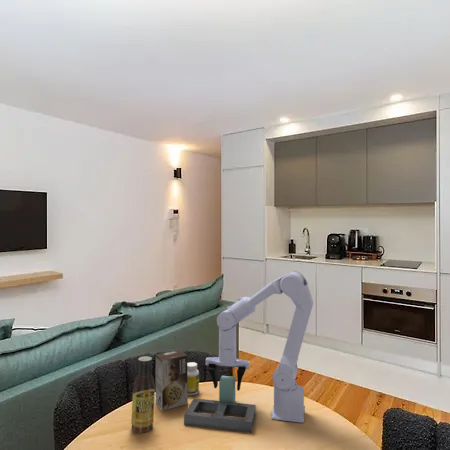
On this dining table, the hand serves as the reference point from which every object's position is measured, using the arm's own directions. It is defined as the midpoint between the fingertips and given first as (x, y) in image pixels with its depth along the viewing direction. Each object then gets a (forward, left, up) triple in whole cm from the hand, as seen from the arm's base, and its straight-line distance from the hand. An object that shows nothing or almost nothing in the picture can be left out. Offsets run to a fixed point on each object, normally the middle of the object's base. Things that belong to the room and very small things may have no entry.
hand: (227, 388), depth 114 cm
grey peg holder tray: (0, +10, -5) cm, 11 cm away
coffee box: (+18, +4, -5) cm, 19 cm away
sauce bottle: (+21, +19, -5) cm, 29 cm away
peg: (0, 0, -5) cm, 5 cm away
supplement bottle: (+14, -5, -5) cm, 16 cm away
